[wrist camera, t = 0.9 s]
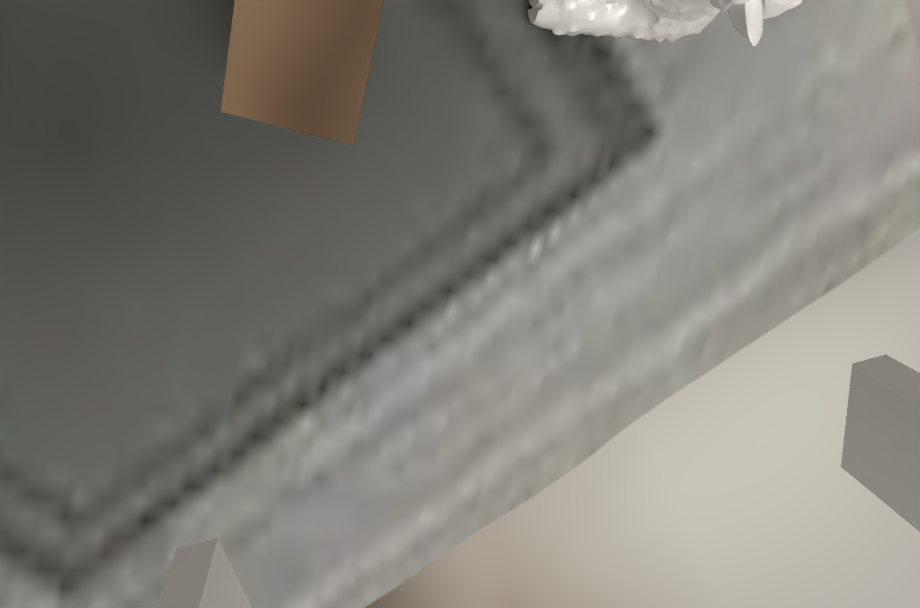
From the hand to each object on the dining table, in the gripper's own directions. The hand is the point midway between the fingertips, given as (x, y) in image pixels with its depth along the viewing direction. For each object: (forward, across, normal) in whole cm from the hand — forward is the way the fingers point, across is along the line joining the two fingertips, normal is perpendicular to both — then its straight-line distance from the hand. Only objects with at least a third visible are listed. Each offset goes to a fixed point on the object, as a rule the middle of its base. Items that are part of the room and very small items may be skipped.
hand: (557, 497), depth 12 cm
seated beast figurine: (+23, +13, +10) cm, 28 cm away
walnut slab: (+22, -2, +11) cm, 25 cm away
